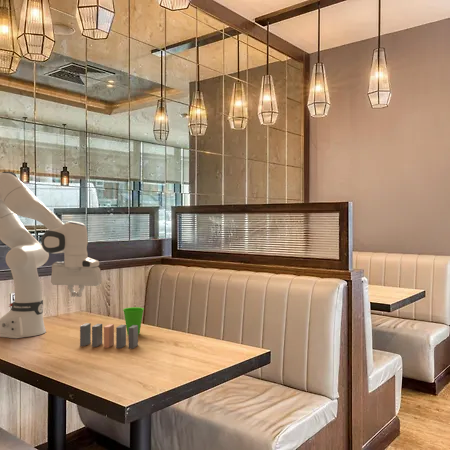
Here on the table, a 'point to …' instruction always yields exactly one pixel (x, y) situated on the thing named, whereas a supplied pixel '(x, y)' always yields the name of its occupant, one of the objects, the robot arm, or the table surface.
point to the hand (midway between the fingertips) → (76, 296)
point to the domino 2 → (96, 335)
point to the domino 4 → (120, 336)
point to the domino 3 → (109, 335)
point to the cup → (133, 317)
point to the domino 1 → (85, 334)
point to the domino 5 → (133, 336)
